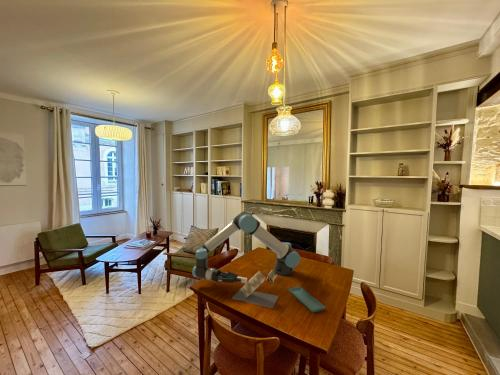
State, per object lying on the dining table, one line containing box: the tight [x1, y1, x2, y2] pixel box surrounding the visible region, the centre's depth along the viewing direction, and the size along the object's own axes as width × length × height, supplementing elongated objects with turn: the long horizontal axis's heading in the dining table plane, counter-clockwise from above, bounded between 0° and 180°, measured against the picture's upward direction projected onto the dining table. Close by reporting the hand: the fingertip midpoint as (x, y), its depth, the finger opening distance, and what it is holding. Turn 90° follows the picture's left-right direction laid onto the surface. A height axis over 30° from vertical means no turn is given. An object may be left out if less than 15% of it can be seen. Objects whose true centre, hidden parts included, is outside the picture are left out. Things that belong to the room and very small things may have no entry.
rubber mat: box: [231, 289, 279, 310], centre depth 138 cm, size 26×14×1 cm, turn 68°
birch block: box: [239, 270, 267, 298], centre depth 138 cm, size 6×6×16 cm
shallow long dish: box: [288, 286, 326, 313], centre depth 137 cm, size 26×9×2 cm, turn 20°
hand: (246, 280), depth 140 cm, fingers closed
